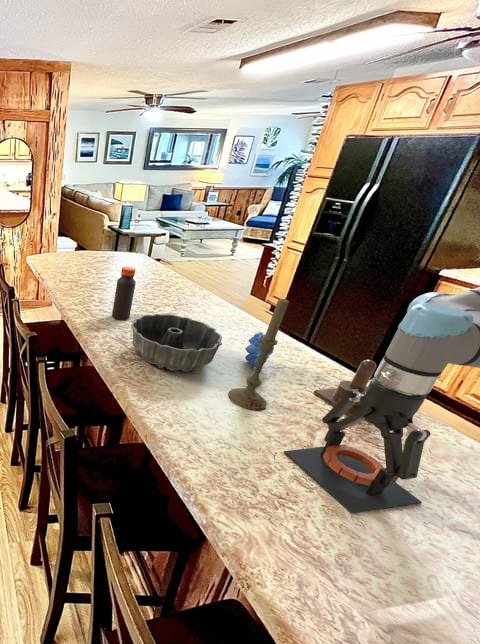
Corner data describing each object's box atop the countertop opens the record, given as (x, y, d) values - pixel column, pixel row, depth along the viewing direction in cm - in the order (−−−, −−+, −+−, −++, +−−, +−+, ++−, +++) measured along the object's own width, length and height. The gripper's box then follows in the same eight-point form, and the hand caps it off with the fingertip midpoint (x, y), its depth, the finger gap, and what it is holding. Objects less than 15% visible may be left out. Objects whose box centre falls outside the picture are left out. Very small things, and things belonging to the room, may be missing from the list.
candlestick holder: (233, 407, 102) (270, 302, 89) (223, 387, 110) (256, 289, 97) (271, 413, 100) (315, 306, 87) (259, 393, 108) (298, 292, 95)
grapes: (274, 378, 115) (288, 343, 110) (249, 375, 116) (261, 340, 111) (260, 359, 125) (272, 326, 120) (237, 356, 126) (248, 323, 121)
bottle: (130, 321, 150) (139, 271, 141) (112, 319, 150) (120, 270, 142) (128, 314, 156) (136, 266, 147) (110, 312, 157) (118, 265, 148)
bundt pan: (109, 348, 130) (114, 321, 126) (164, 333, 141) (170, 307, 137) (173, 389, 109) (181, 358, 105) (232, 367, 120) (242, 339, 116)
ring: (396, 482, 77) (399, 477, 76) (355, 488, 75) (358, 482, 75) (349, 448, 85) (352, 442, 85) (312, 452, 84) (315, 447, 83)
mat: (420, 503, 76) (422, 501, 75) (351, 513, 73) (352, 511, 73) (343, 445, 90) (344, 444, 90) (283, 452, 87) (284, 450, 87)
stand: (386, 414, 101) (412, 370, 95) (350, 418, 99) (374, 373, 93) (346, 390, 110) (367, 348, 104) (313, 392, 109) (332, 351, 103)
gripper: (327, 356, 81) (289, 438, 90) (454, 427, 61) (389, 522, 71) (358, 354, 82) (317, 435, 92) (492, 423, 62) (422, 517, 72)
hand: (348, 473), depth 81 cm, fingers closed on ring, 9 cm apart
